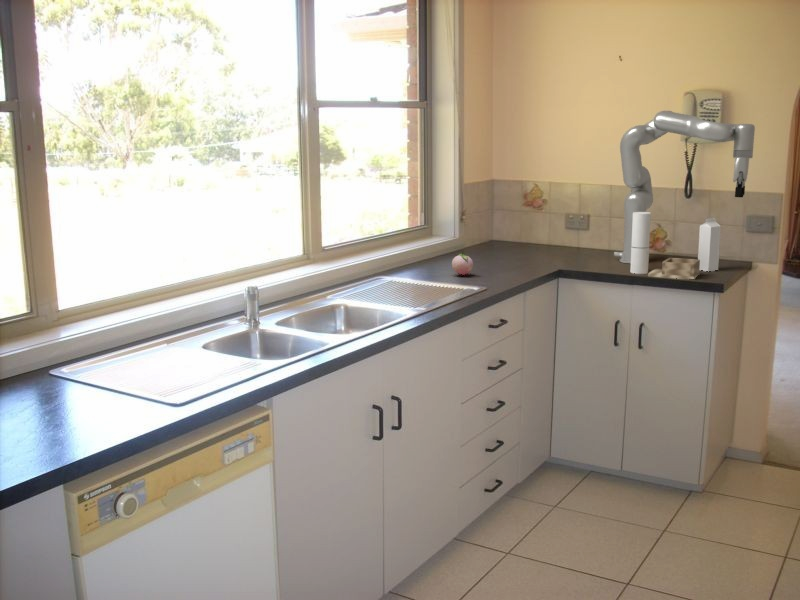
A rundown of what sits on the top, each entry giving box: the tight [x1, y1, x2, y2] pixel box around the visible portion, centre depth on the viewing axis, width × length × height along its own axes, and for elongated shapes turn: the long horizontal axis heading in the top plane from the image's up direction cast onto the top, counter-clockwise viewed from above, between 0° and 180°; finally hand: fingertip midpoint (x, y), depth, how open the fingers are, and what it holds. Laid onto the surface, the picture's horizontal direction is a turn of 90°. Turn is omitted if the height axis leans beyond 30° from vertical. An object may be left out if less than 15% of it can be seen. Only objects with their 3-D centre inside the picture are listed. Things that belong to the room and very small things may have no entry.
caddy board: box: [647, 257, 701, 280], centre depth 351 cm, size 18×13×6 cm
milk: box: [697, 217, 722, 273], centre depth 360 cm, size 6×6×22 cm
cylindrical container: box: [629, 211, 652, 275], centre depth 357 cm, size 7×7×25 cm
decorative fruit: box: [451, 251, 474, 276], centre depth 356 cm, size 9×8×10 cm
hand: (739, 196), depth 356 cm, fingers open, 9 cm apart
